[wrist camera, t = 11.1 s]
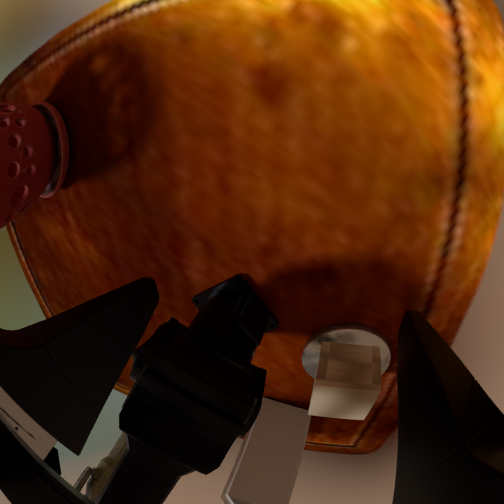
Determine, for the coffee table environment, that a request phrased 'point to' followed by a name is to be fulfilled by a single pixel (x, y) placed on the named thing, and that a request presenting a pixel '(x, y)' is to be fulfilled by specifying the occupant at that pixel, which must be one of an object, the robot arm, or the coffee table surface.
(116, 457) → the thermos
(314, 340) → the post stand
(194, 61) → the coffee table surface
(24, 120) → the plant pot
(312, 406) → the beige wooden cube
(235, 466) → the milk carton
